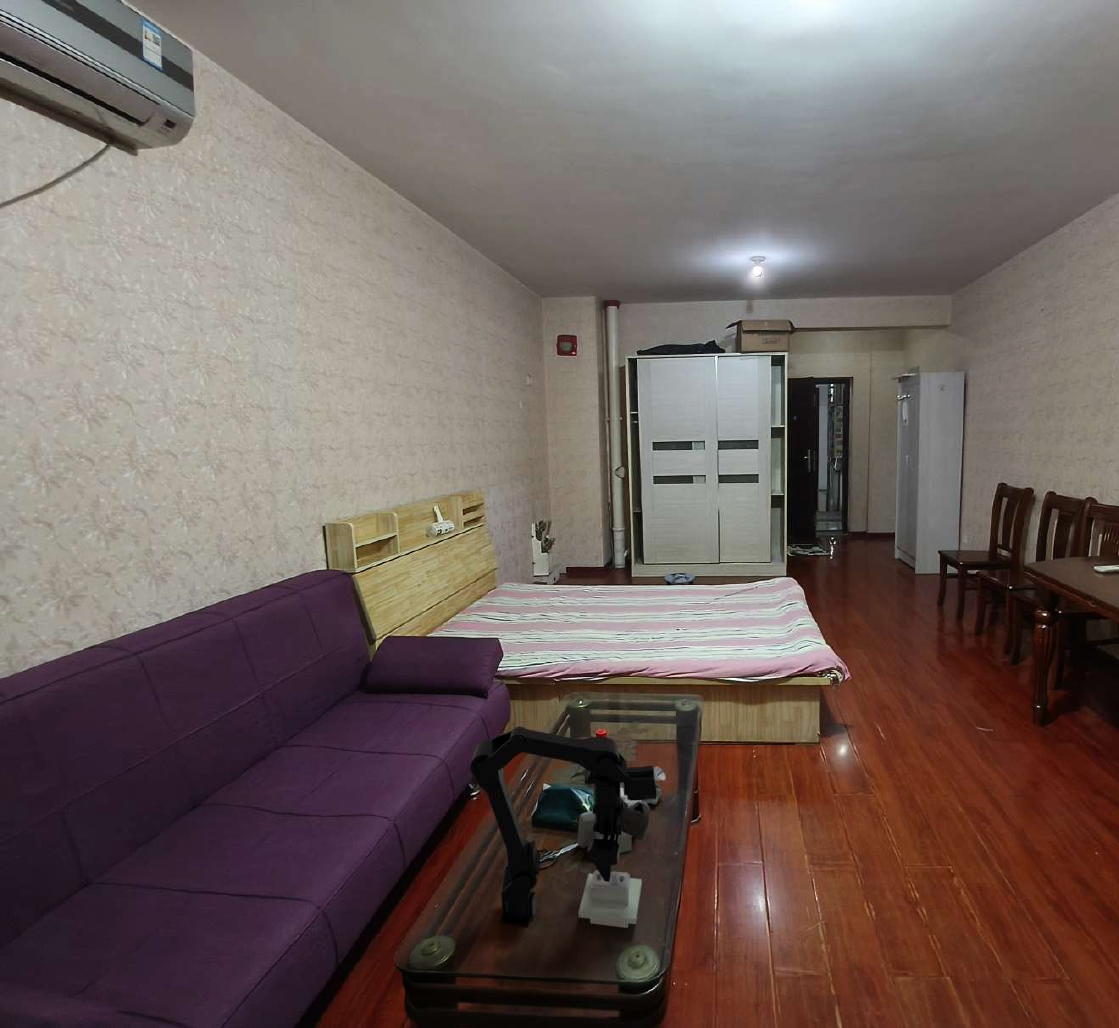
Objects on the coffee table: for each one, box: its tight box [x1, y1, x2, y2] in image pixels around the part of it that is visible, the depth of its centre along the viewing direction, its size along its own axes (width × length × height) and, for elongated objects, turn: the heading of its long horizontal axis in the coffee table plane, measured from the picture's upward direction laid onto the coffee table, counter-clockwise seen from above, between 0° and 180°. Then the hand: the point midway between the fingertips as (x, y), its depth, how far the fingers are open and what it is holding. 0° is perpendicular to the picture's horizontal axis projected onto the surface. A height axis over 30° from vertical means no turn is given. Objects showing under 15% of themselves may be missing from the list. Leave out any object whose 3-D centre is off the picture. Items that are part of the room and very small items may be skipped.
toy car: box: [620, 766, 666, 814], centre depth 185 cm, size 18×10×12 cm
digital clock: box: [576, 803, 635, 854], centre depth 165 cm, size 16×9×11 cm, turn 93°
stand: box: [578, 873, 643, 929], centre depth 143 cm, size 12×12×4 cm
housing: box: [591, 869, 631, 905], centre depth 143 cm, size 5×8×4 cm, turn 80°
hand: (610, 866), depth 142 cm, fingers open, 9 cm apart
